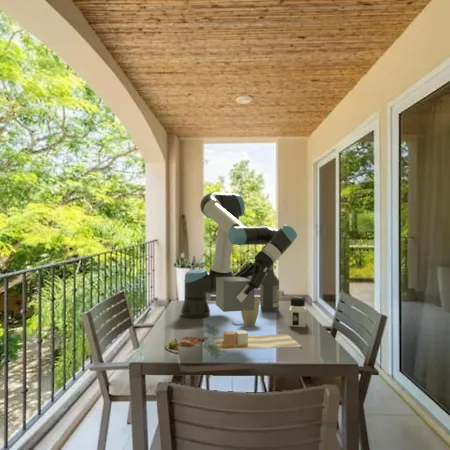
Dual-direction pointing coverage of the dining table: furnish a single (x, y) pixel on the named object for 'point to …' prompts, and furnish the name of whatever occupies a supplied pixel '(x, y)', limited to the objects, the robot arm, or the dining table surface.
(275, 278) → the liquor
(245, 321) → the mug
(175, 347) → the food
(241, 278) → the grey matte cube
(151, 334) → the dining table surface
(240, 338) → the white block
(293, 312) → the container
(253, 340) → the board
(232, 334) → the terracotta block
